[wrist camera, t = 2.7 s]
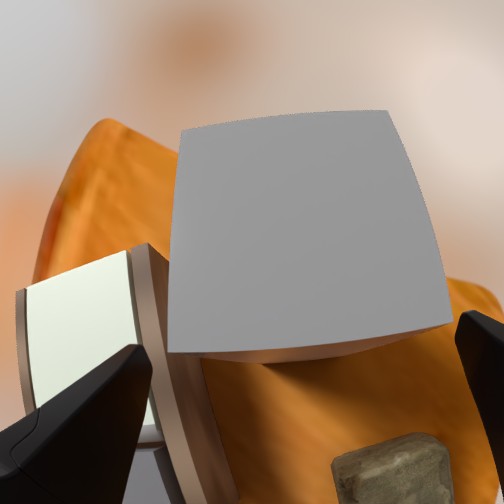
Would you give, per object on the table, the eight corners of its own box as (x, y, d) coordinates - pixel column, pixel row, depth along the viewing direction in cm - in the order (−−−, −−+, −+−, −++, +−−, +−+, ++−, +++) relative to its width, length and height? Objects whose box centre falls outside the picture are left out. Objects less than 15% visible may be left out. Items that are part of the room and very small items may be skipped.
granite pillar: (341, 356, 16) (453, 321, 4) (261, 363, 16) (167, 352, 4) (333, 279, 18) (387, 110, 6) (257, 287, 18) (181, 131, 6)
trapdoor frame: (240, 498, 13) (220, 536, 9) (100, 498, 14) (58, 517, 9) (181, 273, 19) (147, 242, 15) (61, 309, 19) (15, 291, 15)
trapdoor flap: (208, 496, 12) (187, 523, 9) (99, 494, 13) (65, 508, 9) (154, 272, 18) (124, 249, 14) (61, 301, 18) (25, 286, 15)
